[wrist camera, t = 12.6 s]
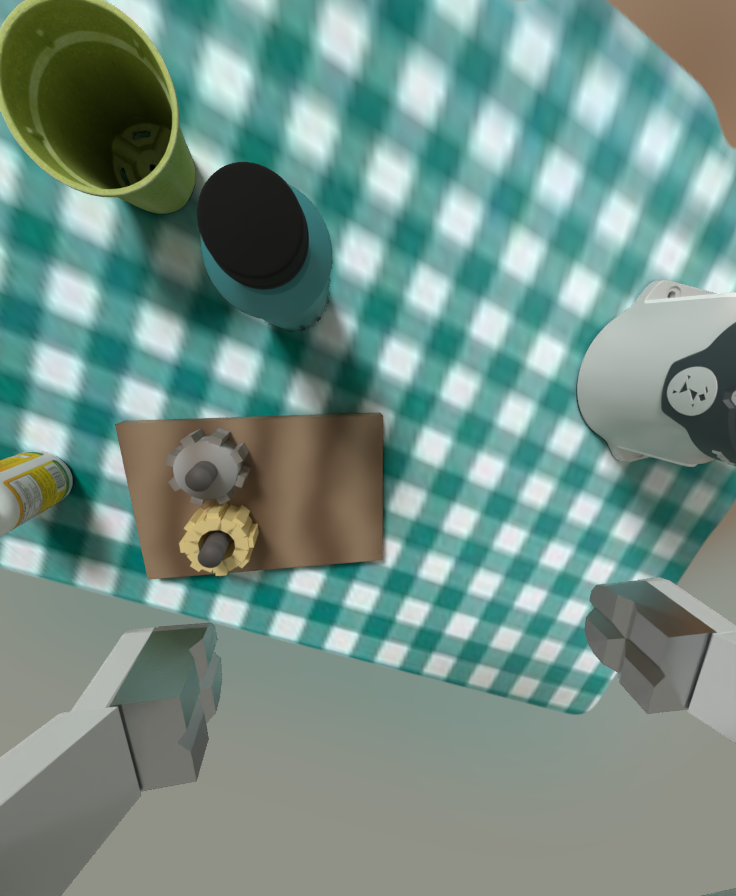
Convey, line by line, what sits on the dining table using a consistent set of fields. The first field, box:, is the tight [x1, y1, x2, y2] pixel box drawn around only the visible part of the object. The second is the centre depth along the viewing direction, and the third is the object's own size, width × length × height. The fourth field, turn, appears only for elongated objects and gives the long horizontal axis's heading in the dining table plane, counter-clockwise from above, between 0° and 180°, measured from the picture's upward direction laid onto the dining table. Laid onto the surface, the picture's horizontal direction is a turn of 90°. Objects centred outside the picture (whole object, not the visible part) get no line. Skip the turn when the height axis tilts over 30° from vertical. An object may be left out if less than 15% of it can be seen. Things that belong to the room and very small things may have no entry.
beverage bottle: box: [197, 162, 333, 332], centre depth 23 cm, size 6×7×20 cm
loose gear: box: [179, 501, 259, 576], centre depth 34 cm, size 6×6×3 cm
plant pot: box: [0, 0, 196, 214], centre depth 24 cm, size 9×9×9 cm
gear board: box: [115, 413, 383, 579], centre depth 34 cm, size 24×16×6 cm, turn 90°
